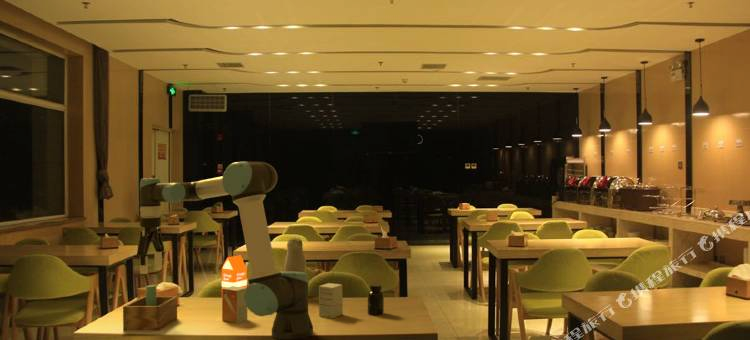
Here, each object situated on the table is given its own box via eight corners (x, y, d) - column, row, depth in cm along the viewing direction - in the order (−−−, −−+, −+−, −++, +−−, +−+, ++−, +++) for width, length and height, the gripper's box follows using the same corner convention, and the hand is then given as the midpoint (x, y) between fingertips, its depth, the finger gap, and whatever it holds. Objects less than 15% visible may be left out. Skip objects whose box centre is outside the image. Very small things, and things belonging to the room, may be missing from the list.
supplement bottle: (364, 314, 242) (364, 285, 242) (372, 311, 248) (372, 283, 248) (379, 316, 239) (379, 287, 239) (386, 312, 245) (386, 284, 245)
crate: (177, 318, 238) (177, 296, 238) (159, 330, 220) (159, 306, 220) (143, 318, 238) (143, 296, 238) (123, 330, 220) (123, 306, 220)
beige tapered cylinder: (309, 295, 282) (308, 237, 282) (300, 299, 272) (300, 239, 272) (290, 293, 284) (290, 236, 285) (281, 298, 275) (281, 239, 275)
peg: (158, 321, 229) (157, 286, 229) (147, 323, 226) (147, 287, 226) (154, 319, 232) (154, 284, 232) (144, 321, 229) (144, 286, 230)
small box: (221, 320, 234) (221, 288, 234) (233, 317, 239) (232, 285, 239) (237, 323, 230) (236, 290, 230) (247, 319, 235) (247, 287, 235)
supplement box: (328, 312, 246) (328, 282, 247) (343, 314, 243) (343, 284, 243) (318, 316, 240) (318, 285, 240) (333, 318, 236) (332, 287, 236)
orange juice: (246, 297, 277) (246, 255, 277) (233, 301, 270) (233, 258, 270) (235, 295, 281) (234, 254, 281) (221, 299, 274) (221, 256, 274)
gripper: (154, 214, 242) (154, 265, 242) (126, 219, 217) (127, 276, 217) (172, 214, 242) (172, 265, 242) (146, 219, 217) (147, 276, 217)
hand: (151, 270), depth 229 cm, fingers open, 13 cm apart
